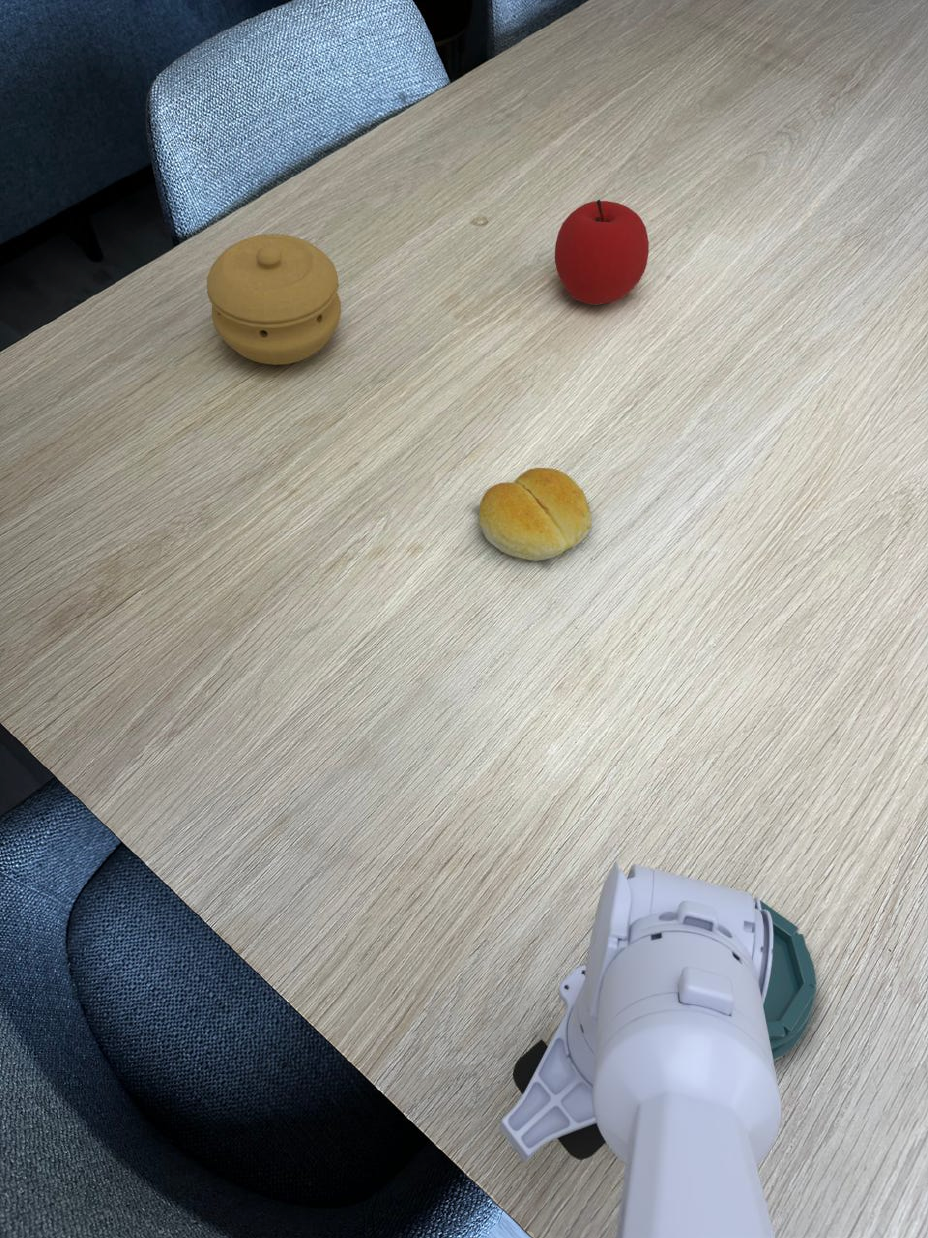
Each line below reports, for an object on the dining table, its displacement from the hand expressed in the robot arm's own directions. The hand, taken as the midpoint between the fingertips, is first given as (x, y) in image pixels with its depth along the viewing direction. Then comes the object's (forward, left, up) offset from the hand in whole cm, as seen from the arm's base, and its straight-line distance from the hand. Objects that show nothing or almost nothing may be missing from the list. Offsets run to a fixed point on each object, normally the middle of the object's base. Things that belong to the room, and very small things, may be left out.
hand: (599, 1078), depth 59 cm
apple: (+73, -12, -2) cm, 74 cm away
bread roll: (+43, -2, -2) cm, 43 cm away
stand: (+5, -9, -2) cm, 10 cm away
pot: (+67, +19, -2) cm, 70 cm away
